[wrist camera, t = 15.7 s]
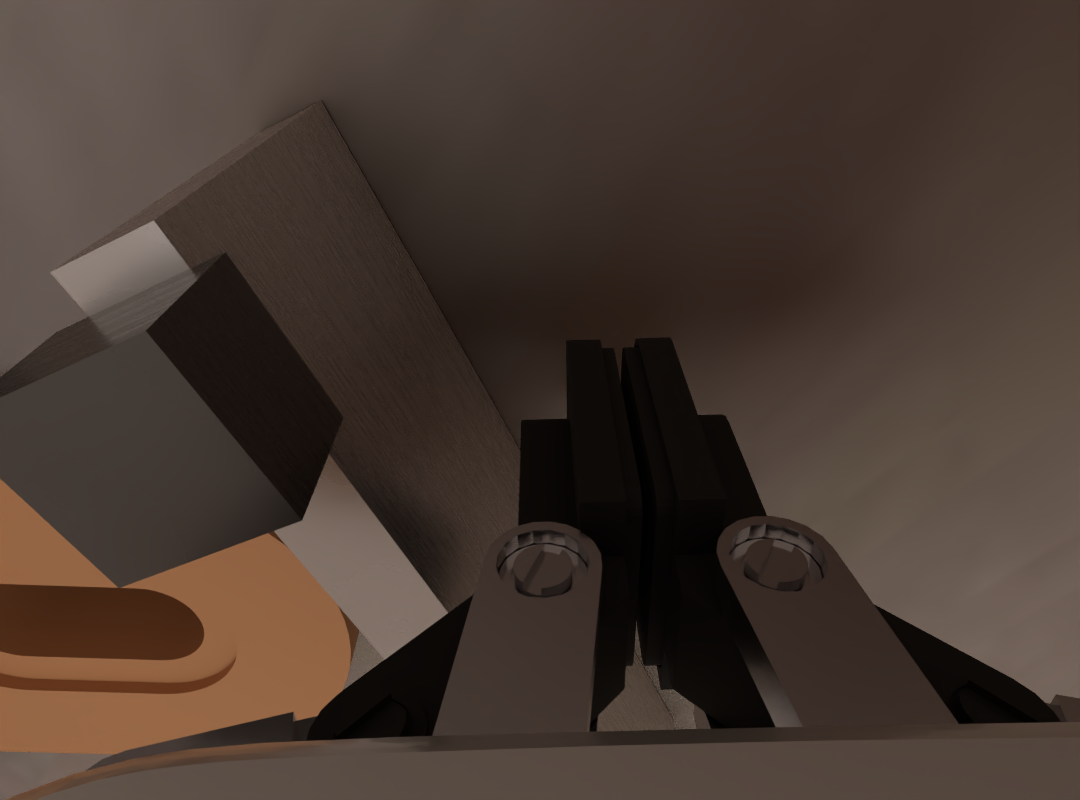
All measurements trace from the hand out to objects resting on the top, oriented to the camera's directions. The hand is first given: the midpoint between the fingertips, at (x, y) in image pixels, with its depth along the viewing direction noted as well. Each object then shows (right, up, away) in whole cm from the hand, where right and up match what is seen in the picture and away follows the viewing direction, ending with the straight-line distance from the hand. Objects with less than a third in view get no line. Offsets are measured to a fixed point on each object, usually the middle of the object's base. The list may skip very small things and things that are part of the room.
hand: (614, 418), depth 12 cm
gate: (-2, -2, +4) cm, 5 cm away
